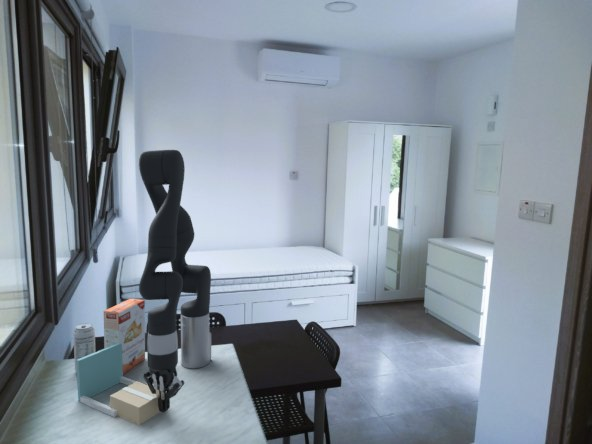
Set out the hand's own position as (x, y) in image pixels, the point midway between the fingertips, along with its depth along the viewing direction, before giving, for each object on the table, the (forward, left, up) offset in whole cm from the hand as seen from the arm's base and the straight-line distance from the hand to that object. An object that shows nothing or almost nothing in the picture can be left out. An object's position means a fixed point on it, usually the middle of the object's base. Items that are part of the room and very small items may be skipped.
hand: (163, 410), depth 114 cm
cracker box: (-14, -32, -2) cm, 35 cm away
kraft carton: (+2, -8, -2) cm, 8 cm away
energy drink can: (-5, -40, -2) cm, 40 cm away
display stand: (0, -18, -2) cm, 18 cm away
